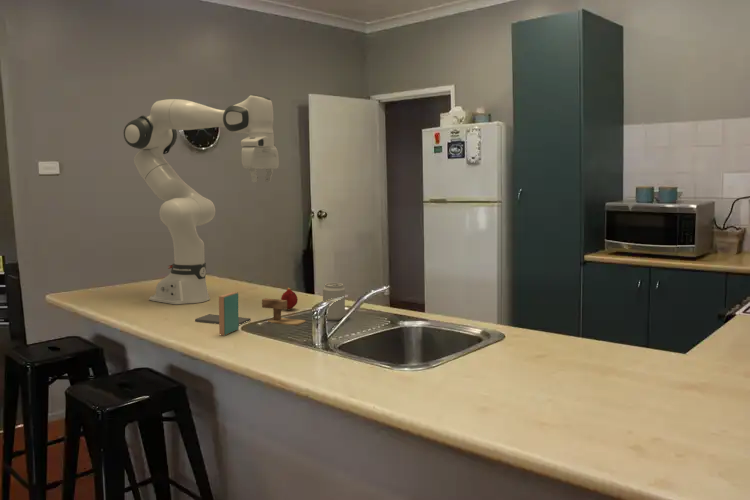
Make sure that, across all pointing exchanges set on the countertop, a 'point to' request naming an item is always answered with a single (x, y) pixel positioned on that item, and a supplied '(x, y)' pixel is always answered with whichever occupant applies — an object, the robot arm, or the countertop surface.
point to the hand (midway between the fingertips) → (261, 181)
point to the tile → (228, 313)
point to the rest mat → (216, 319)
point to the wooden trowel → (279, 312)
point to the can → (337, 307)
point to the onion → (289, 298)
